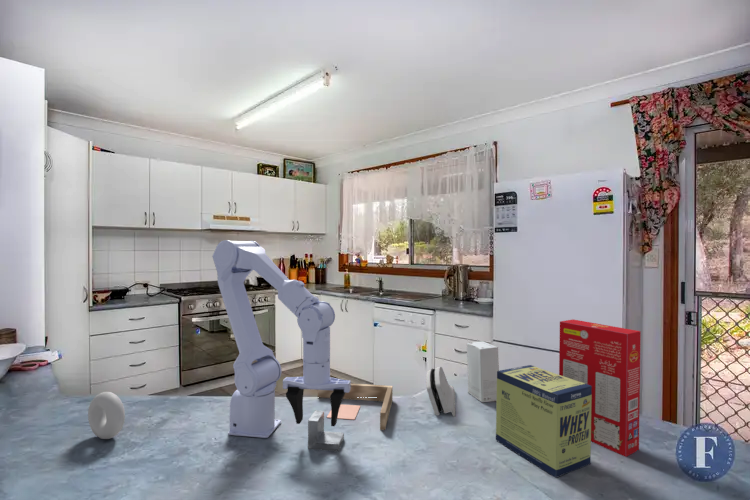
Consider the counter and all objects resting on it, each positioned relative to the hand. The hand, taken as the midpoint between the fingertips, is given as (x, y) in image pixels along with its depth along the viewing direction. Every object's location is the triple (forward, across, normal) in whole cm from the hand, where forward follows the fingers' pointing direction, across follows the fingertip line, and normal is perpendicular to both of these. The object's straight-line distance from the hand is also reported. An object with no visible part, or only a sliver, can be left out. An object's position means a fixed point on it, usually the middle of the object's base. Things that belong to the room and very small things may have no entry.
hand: (316, 423), depth 82 cm
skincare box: (+5, -39, -32) cm, 51 cm away
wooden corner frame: (+4, -3, -16) cm, 17 cm away
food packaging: (+5, -61, -12) cm, 62 cm away
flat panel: (+4, -2, -16) cm, 17 cm away
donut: (+4, +46, +5) cm, 47 cm away
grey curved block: (+5, -27, -26) cm, 38 cm away
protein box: (+5, -47, -4) cm, 47 cm away
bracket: (+4, -2, 0) cm, 5 cm away
